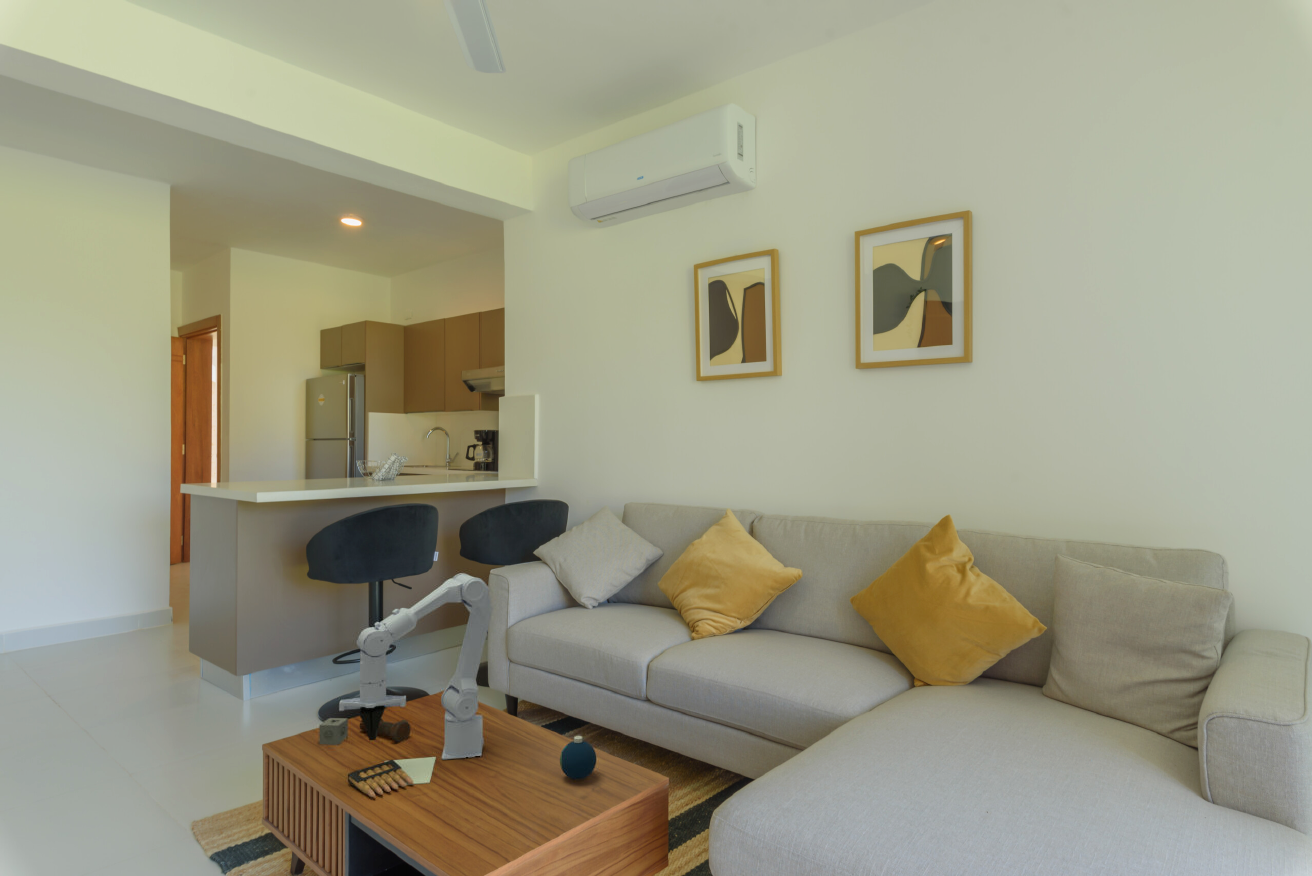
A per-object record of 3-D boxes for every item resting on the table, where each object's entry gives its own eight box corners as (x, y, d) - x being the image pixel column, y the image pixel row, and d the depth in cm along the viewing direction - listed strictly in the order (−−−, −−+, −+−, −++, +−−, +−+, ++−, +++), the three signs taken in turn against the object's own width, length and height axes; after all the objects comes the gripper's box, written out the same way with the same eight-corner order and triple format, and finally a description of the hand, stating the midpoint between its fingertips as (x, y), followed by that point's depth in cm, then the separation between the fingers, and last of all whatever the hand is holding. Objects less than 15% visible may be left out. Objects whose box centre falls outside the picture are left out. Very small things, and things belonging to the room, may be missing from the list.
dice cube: (347, 737, 194) (347, 718, 194) (337, 745, 189) (338, 725, 189) (329, 736, 195) (329, 718, 195) (319, 744, 190) (319, 725, 190)
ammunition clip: (347, 781, 167) (370, 802, 159) (347, 773, 167) (370, 794, 158) (392, 767, 175) (416, 786, 166) (392, 759, 175) (417, 778, 166)
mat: (435, 757, 181) (435, 756, 181) (429, 782, 167) (429, 782, 167) (384, 761, 179) (384, 760, 179) (374, 787, 165) (374, 786, 165)
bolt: (366, 737, 199) (405, 745, 192) (352, 733, 196) (392, 741, 188) (374, 714, 202) (413, 722, 195) (361, 710, 198) (400, 718, 191)
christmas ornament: (571, 767, 175) (571, 725, 175) (602, 773, 172) (602, 730, 172) (553, 782, 168) (553, 738, 168) (585, 788, 164) (585, 743, 164)
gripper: (336, 687, 167) (335, 747, 166) (403, 683, 169) (402, 742, 169) (343, 678, 174) (342, 736, 173) (407, 674, 176) (407, 731, 176)
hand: (372, 738), depth 172 cm, fingers closed
